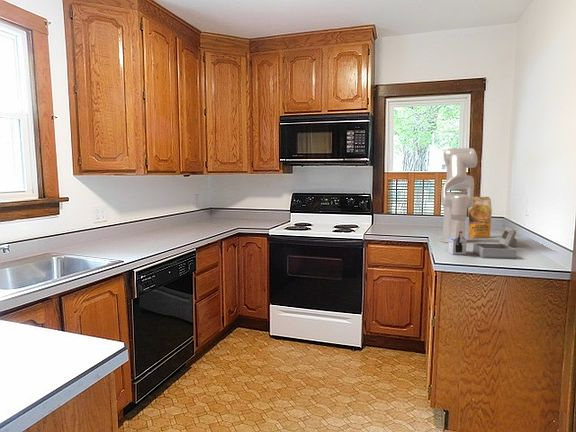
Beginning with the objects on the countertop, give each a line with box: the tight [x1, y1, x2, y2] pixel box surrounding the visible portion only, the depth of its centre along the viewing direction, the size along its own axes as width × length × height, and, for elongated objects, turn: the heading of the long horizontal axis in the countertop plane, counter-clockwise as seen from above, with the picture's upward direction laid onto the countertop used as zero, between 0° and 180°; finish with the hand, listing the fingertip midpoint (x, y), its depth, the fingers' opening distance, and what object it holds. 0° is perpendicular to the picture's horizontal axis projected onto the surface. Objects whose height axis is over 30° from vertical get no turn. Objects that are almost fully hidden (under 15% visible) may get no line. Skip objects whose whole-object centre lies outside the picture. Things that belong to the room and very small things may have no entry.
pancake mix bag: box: [467, 196, 493, 239], centre depth 264 cm, size 7×19×28 cm, turn 97°
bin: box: [472, 242, 517, 260], centre depth 206 cm, size 16×16×5 cm
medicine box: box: [447, 237, 468, 256], centre depth 210 cm, size 8×4×9 cm, turn 98°
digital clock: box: [498, 226, 518, 248], centre depth 235 cm, size 16×9×11 cm, turn 154°
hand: (457, 250), depth 210 cm, fingers closed on medicine box, 5 cm apart
